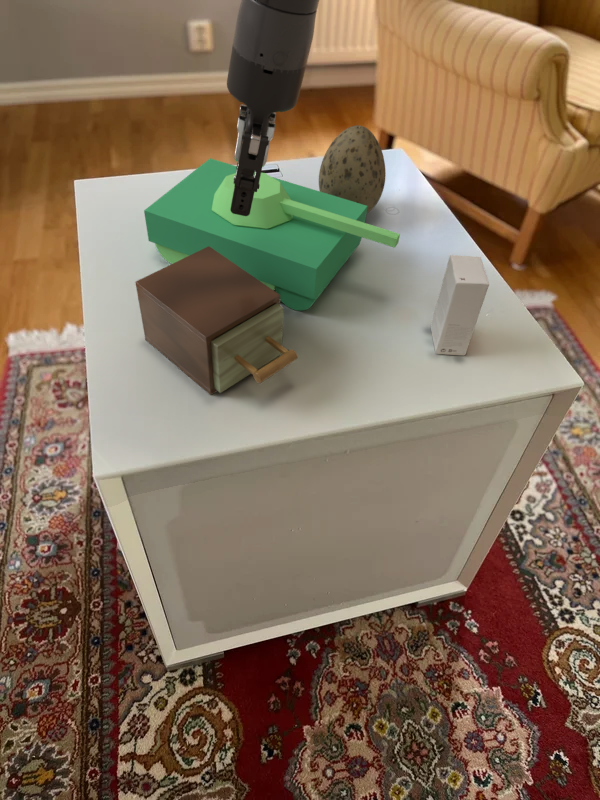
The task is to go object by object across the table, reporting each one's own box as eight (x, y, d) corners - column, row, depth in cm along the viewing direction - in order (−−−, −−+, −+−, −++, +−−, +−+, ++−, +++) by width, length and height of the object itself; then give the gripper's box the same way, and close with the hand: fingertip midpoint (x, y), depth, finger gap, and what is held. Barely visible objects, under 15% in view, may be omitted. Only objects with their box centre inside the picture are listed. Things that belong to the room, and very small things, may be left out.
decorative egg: (390, 211, 109) (405, 125, 98) (359, 239, 103) (371, 150, 92) (337, 191, 113) (346, 105, 102) (303, 217, 107) (309, 129, 96)
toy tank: (375, 263, 78) (140, 186, 88) (363, 337, 87) (151, 260, 97) (422, 197, 89) (208, 135, 98) (407, 269, 98) (213, 206, 108)
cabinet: (278, 352, 84) (280, 294, 77) (210, 395, 79) (206, 337, 72) (212, 303, 91) (208, 245, 83) (145, 339, 85) (134, 281, 78)
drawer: (308, 374, 81) (312, 327, 75) (247, 415, 76) (246, 369, 70) (219, 307, 89) (217, 261, 83) (158, 341, 83) (151, 294, 78)
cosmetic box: (466, 356, 86) (490, 285, 77) (434, 354, 86) (455, 283, 77) (459, 326, 90) (481, 255, 81) (429, 325, 90) (448, 253, 81)
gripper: (238, 14, 67) (215, 156, 79) (227, 68, 58) (203, 220, 69) (307, 33, 68) (275, 170, 80) (307, 88, 59) (271, 234, 71)
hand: (242, 193), depth 75 cm, fingers open, 8 cm apart
